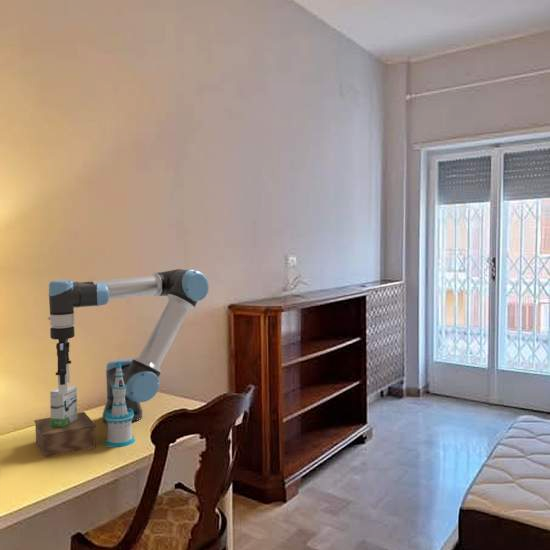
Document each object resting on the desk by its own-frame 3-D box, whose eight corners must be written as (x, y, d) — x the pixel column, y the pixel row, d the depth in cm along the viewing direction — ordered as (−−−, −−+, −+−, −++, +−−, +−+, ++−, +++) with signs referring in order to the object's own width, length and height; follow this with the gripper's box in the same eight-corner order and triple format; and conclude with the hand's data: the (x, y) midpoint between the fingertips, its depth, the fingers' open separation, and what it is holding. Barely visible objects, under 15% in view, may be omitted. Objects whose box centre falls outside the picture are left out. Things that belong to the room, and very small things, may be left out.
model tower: (98, 444, 176) (97, 358, 174) (116, 434, 185) (115, 352, 184) (123, 448, 172) (121, 360, 171) (140, 438, 182) (139, 354, 180)
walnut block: (84, 433, 188) (84, 411, 187) (96, 448, 174) (95, 425, 173) (34, 442, 178) (34, 420, 178) (42, 459, 165) (42, 435, 164)
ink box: (63, 427, 171) (62, 392, 170) (50, 426, 172) (49, 391, 171) (78, 418, 179) (77, 385, 179) (65, 418, 180) (64, 384, 179)
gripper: (53, 321, 184) (55, 379, 186) (46, 333, 161) (49, 400, 162) (75, 320, 187) (77, 378, 188) (72, 331, 163) (74, 397, 164)
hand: (64, 388), depth 175 cm, fingers open, 13 cm apart
